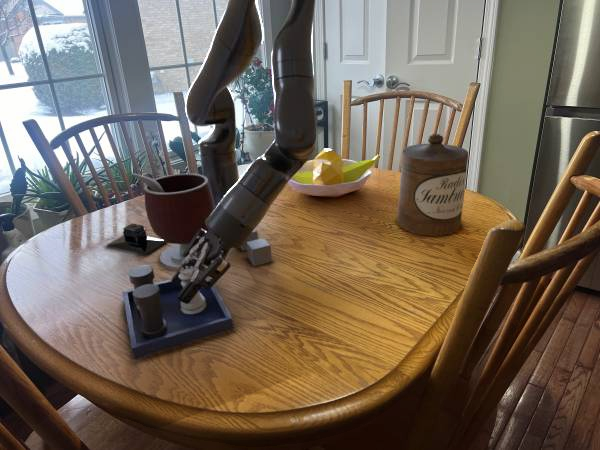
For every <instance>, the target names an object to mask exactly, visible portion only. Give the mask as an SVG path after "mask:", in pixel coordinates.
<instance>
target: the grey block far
mask: <svg viewBox="0 0 600 450" xmlns="http://www.w3.org/2000/svg"><path fill="white" fill-rule="evenodd" d="M258 239H259V233H258V230H257V229H256V228H255V229H254V231H253V232H252V233H251V235H250V236H249V237H248V239H247V240H246V241H245V243H244V244H243V245H242V246H241V247H240V248H239V249H240V250H241V251H242V252H243V251H247V243H246V242H250V241H254V240H258Z"/></svg>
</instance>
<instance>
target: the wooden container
mask: <svg viewBox="0 0 600 450" xmlns="http://www.w3.org/2000/svg"><path fill="white" fill-rule="evenodd" d="M443 141H444V137H443V135H441V134H440V133H432V134H431V135H429V136H428V137H427V142H428V143H419V144H418V143H417V144H412V145H408V146H406V147H404V148H403V150H401V151H402V152H401V166H400V167H401V169H400V179H399V189H398V190H399V191H398V204H397V205H398V206H397V207H398V209H397V224H398V226H399V227H400V228H402V229H403V230H405V231H407V232H409V233H412V234H416V235H421V236H428V237H434V236H435V237H438V236H446V235H447V236H448V235H450V234H453V233H455V232H457V231H458V230H459V229H460V228H461V223H462V215H463V208H464V207H463V206H464V199H465V191H466V190H465V189H466V181H467V180H466V178H467V169H468V161H469V160H468V159H469V151H468V150H467V149H465V148H463V147H460V146H458V145H453V144H445V143H443Z"/></svg>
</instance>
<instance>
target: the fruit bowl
mask: <svg viewBox="0 0 600 450" xmlns="http://www.w3.org/2000/svg"><path fill="white" fill-rule="evenodd" d="M379 159H381V156H380V155H379V154H377V155H376V156H375V157H374V158H369V159H365V160H361V161H355V160H351V159H343V158H342V156H341V155H339V154H338V153H337V152H336V151H335V150H334V149H331V148H324V149H323V150H321V151H320V152H319V153H318V154H317V155H316V156H315V157H314V159H312V160H308V161H307V162H306V163H305V164H304V165H303V166H302V167H301V169H300V170H299V171H298V172H297V173H296V174H295V175H294V176H293V177H292V178H291V179H290V180H289V181H288V183H287V185H289V187H290V188H291V189H293V190H294V191H295V192H298V193H300V194H304V195H307V196H315V197H330V198H331V197H332V198H337V197H341V196H344V195H347V194H349V193H352V192H355V191H358V190H362V188H363V186H364V185H365V183H366V182H367V181H368V179H369V178H370V177H371V175H372V173H373V171H371V169H372V168H373V167H374V166H375V165H376V162H377V161H378V160H379Z"/></svg>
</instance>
